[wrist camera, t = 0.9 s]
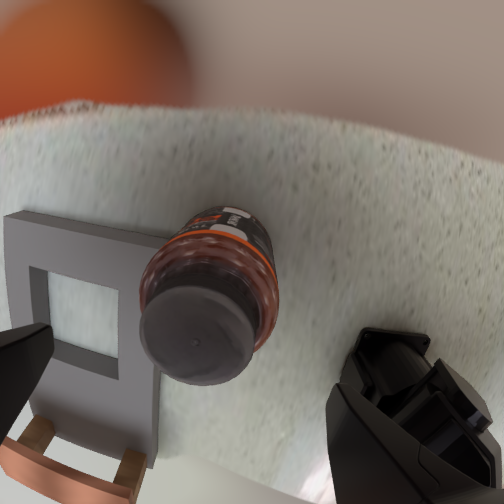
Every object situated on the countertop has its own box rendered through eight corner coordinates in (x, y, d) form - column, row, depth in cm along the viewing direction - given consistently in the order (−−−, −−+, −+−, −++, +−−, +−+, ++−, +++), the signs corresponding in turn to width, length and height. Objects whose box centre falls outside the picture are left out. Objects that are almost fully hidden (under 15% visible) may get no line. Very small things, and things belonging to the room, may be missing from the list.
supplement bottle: (221, 185, 20) (182, 211, 9) (290, 247, 21) (326, 336, 10) (163, 252, 21) (85, 337, 10) (229, 308, 22) (210, 428, 11)
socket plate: (173, 240, 21) (163, 250, 18) (157, 451, 27) (152, 469, 24) (23, 210, 20) (3, 216, 18) (47, 413, 26) (37, 427, 24)
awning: (151, 429, 23) (128, 499, 15) (152, 469, 24) (135, 530, 17) (23, 383, 22) (-18, 432, 15) (37, 427, 24) (6, 474, 16)
